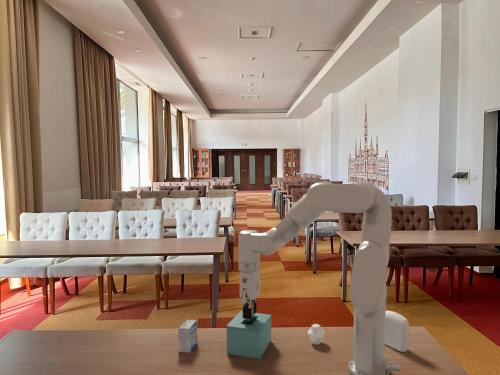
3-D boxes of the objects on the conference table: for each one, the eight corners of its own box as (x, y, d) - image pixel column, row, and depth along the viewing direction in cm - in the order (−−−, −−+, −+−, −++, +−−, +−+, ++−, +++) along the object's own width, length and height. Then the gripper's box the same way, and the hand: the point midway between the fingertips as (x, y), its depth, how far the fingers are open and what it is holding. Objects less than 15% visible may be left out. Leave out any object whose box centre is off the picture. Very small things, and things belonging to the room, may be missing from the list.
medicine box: (190, 353, 139) (189, 329, 138) (178, 352, 140) (177, 328, 139) (197, 343, 147) (197, 320, 146) (186, 342, 148) (185, 319, 147)
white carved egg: (308, 346, 143) (308, 327, 143) (306, 338, 149) (306, 320, 149) (326, 346, 143) (326, 327, 143) (323, 338, 149) (323, 320, 149)
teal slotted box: (271, 341, 148) (271, 314, 147) (259, 359, 135) (259, 330, 134) (240, 336, 152) (240, 310, 151) (226, 353, 138) (226, 325, 138)
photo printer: (410, 350, 140) (411, 316, 139) (402, 353, 138) (403, 318, 137) (386, 339, 149) (387, 306, 148) (378, 342, 147) (379, 309, 146)
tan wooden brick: (254, 315, 144) (254, 302, 144) (250, 320, 140) (249, 306, 139) (249, 314, 145) (249, 301, 145) (244, 320, 140) (244, 306, 140)
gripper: (251, 272, 132) (252, 326, 133) (266, 260, 148) (266, 308, 149) (230, 271, 134) (231, 323, 135) (247, 258, 150) (247, 306, 151)
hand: (249, 315), depth 142 cm, fingers closed on tan wooden brick, 4 cm apart
